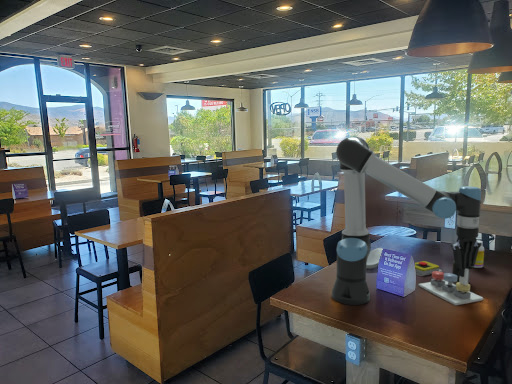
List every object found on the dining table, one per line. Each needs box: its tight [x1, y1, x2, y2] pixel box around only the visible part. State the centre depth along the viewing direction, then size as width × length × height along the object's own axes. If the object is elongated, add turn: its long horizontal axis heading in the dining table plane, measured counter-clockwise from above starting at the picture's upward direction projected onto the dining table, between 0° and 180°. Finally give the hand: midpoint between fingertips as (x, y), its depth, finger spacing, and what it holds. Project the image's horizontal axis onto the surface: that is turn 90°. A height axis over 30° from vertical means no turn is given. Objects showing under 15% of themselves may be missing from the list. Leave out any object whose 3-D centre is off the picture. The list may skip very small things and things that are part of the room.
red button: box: [431, 271, 445, 282], centre depth 165 cm, size 5×5×4 cm
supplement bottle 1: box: [451, 260, 471, 284], centre depth 170 cm, size 7×7×12 cm
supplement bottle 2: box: [471, 239, 485, 269], centre depth 190 cm, size 7×7×13 cm
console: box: [418, 278, 484, 306], centre depth 159 cm, size 14×20×3 cm
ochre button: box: [455, 282, 471, 294], centre depth 153 cm, size 5×5×4 cm
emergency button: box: [414, 260, 443, 277], centre depth 185 cm, size 9×4×15 cm
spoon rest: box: [366, 247, 384, 270], centre depth 195 cm, size 24×12×7 cm, turn 131°
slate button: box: [444, 272, 457, 285], centre depth 159 cm, size 5×5×4 cm
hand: (463, 283), depth 153 cm, fingers closed
